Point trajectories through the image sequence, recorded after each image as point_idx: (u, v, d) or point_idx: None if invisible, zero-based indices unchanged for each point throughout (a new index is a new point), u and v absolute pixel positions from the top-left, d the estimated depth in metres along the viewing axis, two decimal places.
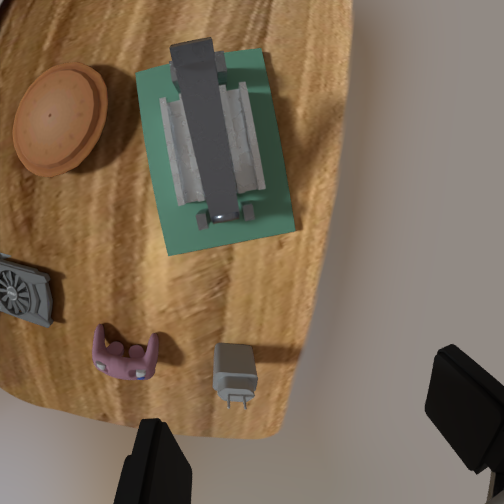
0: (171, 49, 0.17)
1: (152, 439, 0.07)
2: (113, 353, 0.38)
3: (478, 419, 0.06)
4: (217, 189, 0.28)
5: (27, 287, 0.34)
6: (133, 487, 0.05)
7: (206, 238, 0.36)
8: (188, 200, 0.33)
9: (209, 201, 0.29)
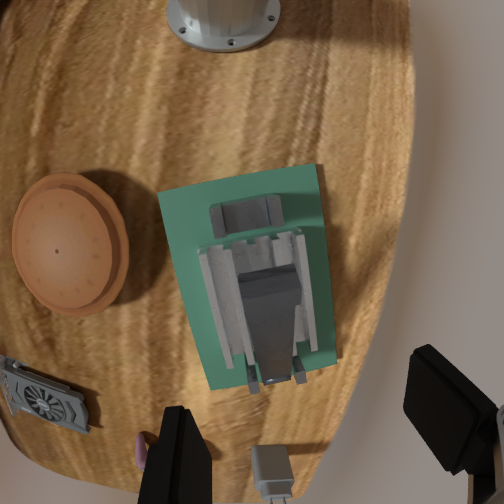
0: (244, 301, 0.15)
1: (178, 425, 0.07)
2: None
3: (451, 420, 0.06)
4: (273, 369, 0.26)
5: (60, 403, 0.32)
6: (163, 472, 0.06)
7: None
8: (234, 353, 0.31)
9: (263, 375, 0.27)
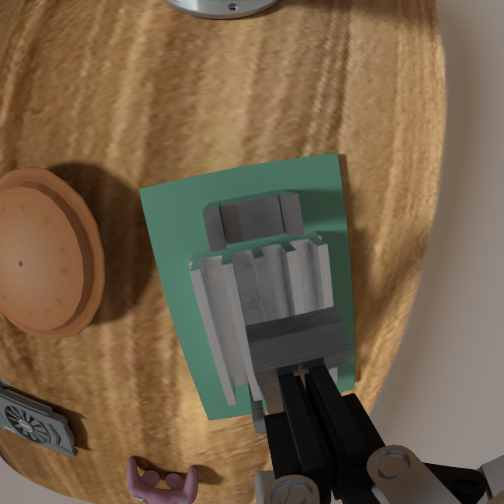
0: (257, 373, 0.08)
1: (298, 390, 0.08)
2: (149, 483, 0.30)
3: None
4: None
5: (42, 425, 0.26)
6: (305, 432, 0.06)
7: None
8: (236, 383, 0.25)
9: None
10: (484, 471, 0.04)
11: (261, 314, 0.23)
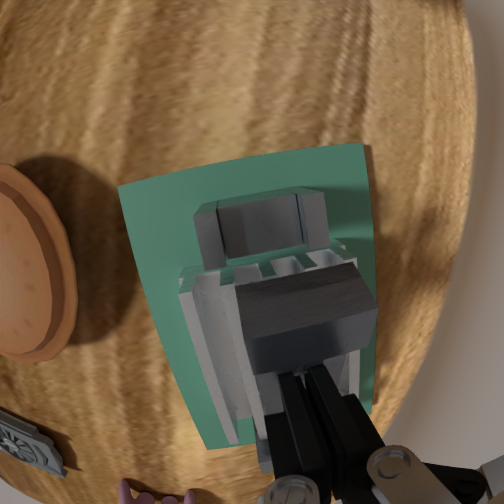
0: (250, 343, 0.06)
1: (299, 390, 0.08)
2: None
3: None
4: None
5: (28, 445, 0.22)
6: (305, 432, 0.06)
7: None
8: (238, 417, 0.20)
9: None
10: (484, 471, 0.04)
11: None
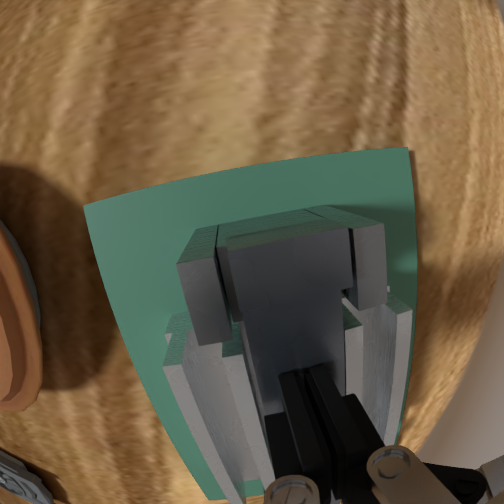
0: (232, 256, 0.07)
1: (299, 390, 0.08)
2: None
3: None
4: None
5: (14, 481, 0.16)
6: (305, 433, 0.06)
7: None
8: (245, 479, 0.15)
9: None
10: (484, 471, 0.04)
11: None
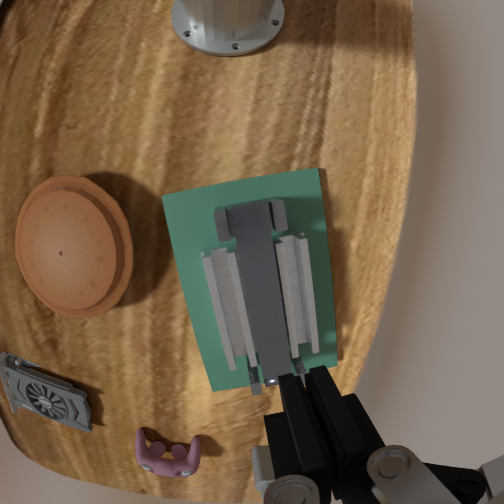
0: (231, 209, 0.24)
1: (298, 390, 0.08)
2: (156, 453, 0.36)
3: None
4: (271, 351, 0.28)
5: (62, 400, 0.32)
6: (305, 432, 0.06)
7: None
8: (236, 354, 0.31)
9: (263, 363, 0.28)
10: (484, 471, 0.04)
11: None
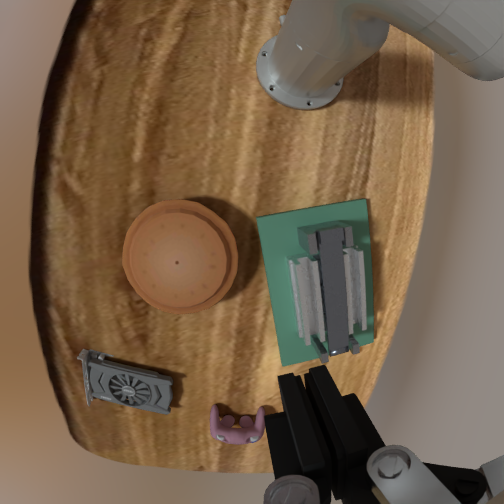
0: (320, 232, 0.35)
1: (298, 390, 0.08)
2: (227, 425, 0.47)
3: None
4: (336, 329, 0.39)
5: (148, 387, 0.44)
6: (305, 432, 0.06)
7: (312, 353, 0.46)
8: None
9: (330, 338, 0.40)
10: (484, 471, 0.04)
11: None
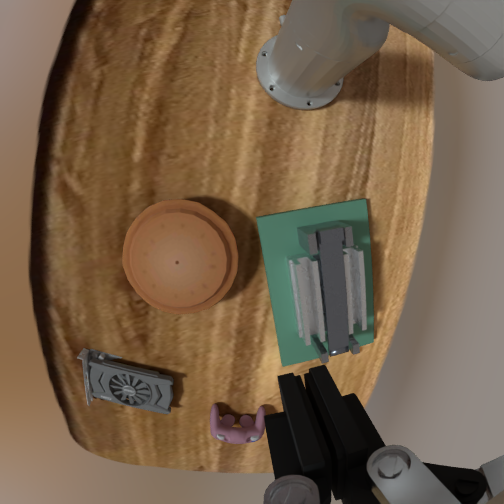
0: (320, 232, 0.35)
1: (299, 390, 0.08)
2: (227, 424, 0.47)
3: None
4: (336, 329, 0.39)
5: (149, 387, 0.44)
6: (306, 432, 0.06)
7: (312, 353, 0.46)
8: None
9: (330, 338, 0.40)
10: (484, 471, 0.04)
11: None
